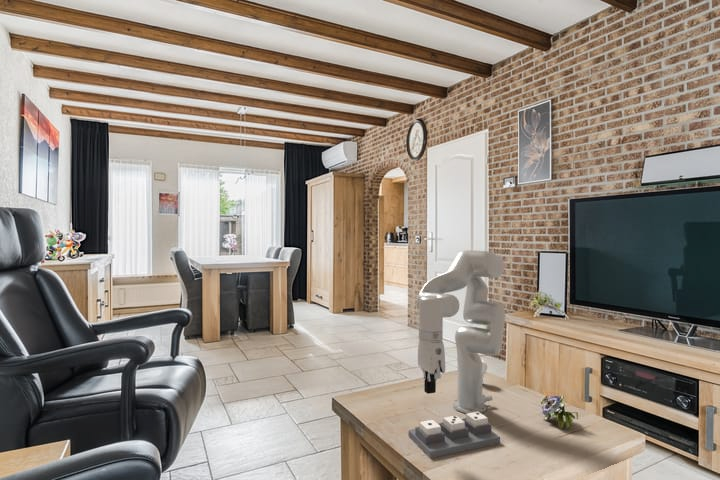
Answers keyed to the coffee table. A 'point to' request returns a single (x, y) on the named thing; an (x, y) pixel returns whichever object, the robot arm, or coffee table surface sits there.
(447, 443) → the key board
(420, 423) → the one-dot tile
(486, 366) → the light bulb
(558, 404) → the passion flower
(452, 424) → the three-dot tile
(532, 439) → the coffee table surface
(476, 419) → the two-dot tile
